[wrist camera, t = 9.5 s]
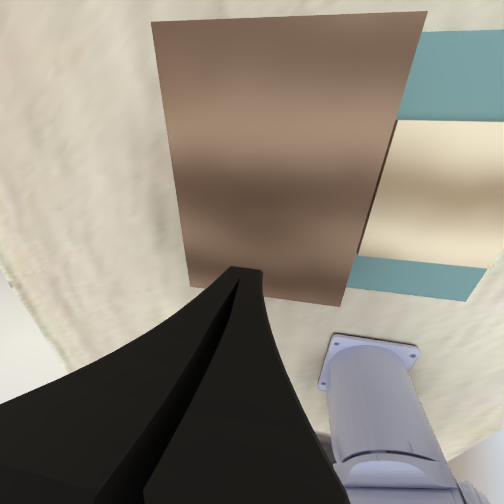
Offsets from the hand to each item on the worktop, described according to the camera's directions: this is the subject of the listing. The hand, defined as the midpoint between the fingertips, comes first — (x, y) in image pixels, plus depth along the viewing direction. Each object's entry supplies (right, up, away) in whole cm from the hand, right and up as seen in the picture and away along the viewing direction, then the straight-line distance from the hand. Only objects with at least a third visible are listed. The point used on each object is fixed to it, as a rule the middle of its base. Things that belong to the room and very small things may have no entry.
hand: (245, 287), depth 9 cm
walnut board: (+2, +6, +7) cm, 10 cm away
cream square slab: (+12, +5, +5) cm, 14 cm away
